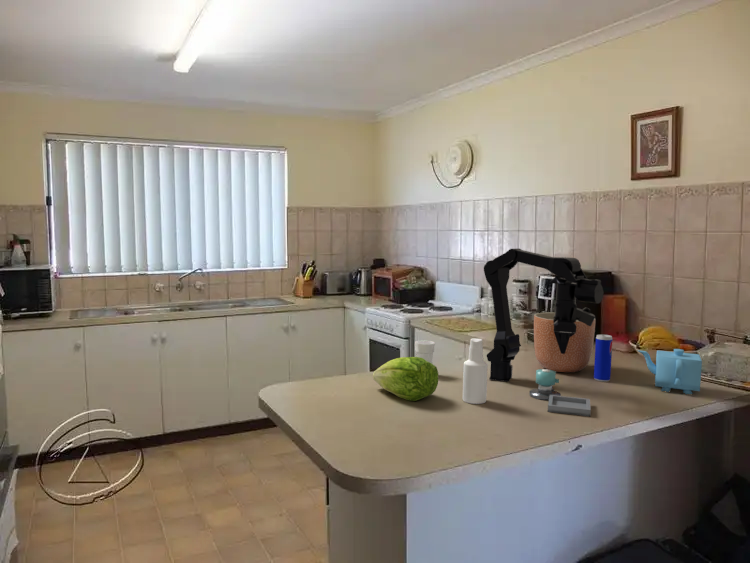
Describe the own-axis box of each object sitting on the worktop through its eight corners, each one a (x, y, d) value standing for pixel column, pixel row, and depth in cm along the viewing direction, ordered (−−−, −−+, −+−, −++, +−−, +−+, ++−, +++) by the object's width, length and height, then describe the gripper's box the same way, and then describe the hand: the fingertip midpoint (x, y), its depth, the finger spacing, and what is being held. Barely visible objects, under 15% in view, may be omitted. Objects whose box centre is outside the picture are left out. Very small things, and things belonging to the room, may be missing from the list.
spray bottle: (487, 398, 172) (490, 338, 170) (484, 405, 165) (486, 342, 164) (464, 396, 174) (466, 336, 172) (460, 402, 168) (462, 340, 166)
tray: (547, 411, 161) (547, 405, 161) (549, 400, 171) (549, 394, 171) (590, 416, 157) (590, 410, 157) (589, 405, 168) (589, 398, 167)
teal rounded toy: (535, 384, 174) (535, 371, 173) (536, 379, 179) (536, 367, 179) (558, 386, 172) (559, 373, 171) (559, 381, 177) (559, 369, 176)
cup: (411, 375, 197) (412, 343, 196) (417, 371, 203) (418, 339, 202) (430, 377, 195) (431, 345, 194) (436, 373, 201) (437, 341, 200)
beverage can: (611, 382, 193) (614, 337, 191) (594, 381, 194) (597, 336, 192) (608, 378, 198) (611, 334, 196) (592, 377, 199) (594, 333, 197)
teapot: (696, 386, 190) (699, 347, 189) (700, 398, 176) (703, 356, 175) (635, 379, 198) (637, 341, 196) (634, 390, 184) (637, 350, 182)
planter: (568, 360, 223) (570, 311, 222) (605, 374, 204) (608, 320, 202) (520, 364, 217) (522, 313, 215) (554, 378, 197) (557, 322, 195)
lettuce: (393, 364, 188) (367, 346, 180) (450, 368, 173) (425, 349, 165) (381, 402, 183) (354, 386, 175) (439, 410, 168) (412, 392, 160)
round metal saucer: (528, 398, 173) (528, 385, 173) (530, 390, 182) (531, 377, 181) (560, 401, 170) (560, 388, 170) (560, 393, 179) (561, 380, 178)
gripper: (596, 305, 165) (593, 359, 167) (592, 297, 183) (588, 346, 185) (555, 302, 168) (552, 356, 170) (554, 295, 186) (551, 343, 188)
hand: (562, 350), depth 178 cm, fingers open, 9 cm apart
